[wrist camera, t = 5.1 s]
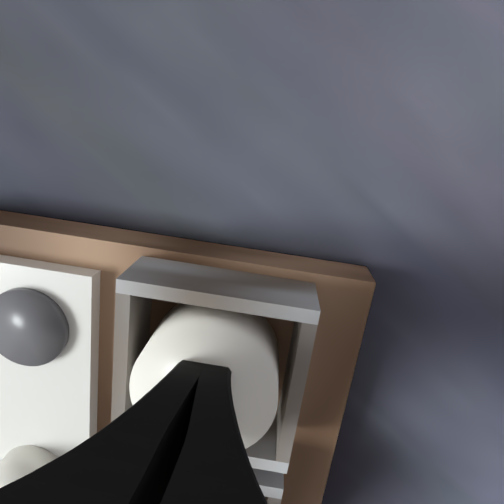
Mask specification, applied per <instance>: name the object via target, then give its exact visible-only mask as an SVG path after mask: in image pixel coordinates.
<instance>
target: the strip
mask: <svg viewBox="0 0 504 504" xmlns="http://www.w3.org/2000/svg"><path fill="white" fill-rule="evenodd" d="M100 272H101V270H95V269H89V268H82V267H76V266H70V265H63V264H57V263H51V262H44V261H38V260H32V259H25V258H19V257H13V256H6V255H0V488H1V487H3V486H5V485H7V484H9V483H11V482H13V481H15V480H18V479H20V478H22V477H24V476H25V475H27V474H29V473H31V472H33V471H35V470H36V469H38V468H40V467H42V466H44V465H45V464H47V463H49V462H51V461H53V460H54V459H56V458H58V457H60V456H61V455H63V454H65V453H67V452H68V451H70V450H71V449H73V448H75V447H76V446H78V445H79V444H81V443H82V442H84V441H85V440H87V439H88V438H90V437H91V436H93V435H94V434H96V433H97V404H98V360H99V316H100Z"/></svg>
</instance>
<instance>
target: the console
mask: <svg viewBox="0 0 504 504" xmlns="http://www.w3.org/2000/svg"><path fill="white" fill-rule="evenodd" d="M0 255H6V256H13V257H19V258H25V259H32V260H38V261H44V262H51V263H57V264H63V265H70V266H76V267H82V268H89V269H95V270H101V272H100V316H99V360H98V404H97V432H99V431H100V430H101V429H103V428H104V427H106V426H107V425H108V424H110V423H111V422H112V421H113V420H115V419H116V418H117V417H119V416H120V415H121V414H122V413H124V412H125V411H126V410H127V409H129V408H130V407H131V406H133V405H132V402H131V398H130V391H129V383H130V375H131V372H132V369H133V366H134V364H135V362H136V360H137V358H138V357H139V355H140V354H141V352H142V351H143V349H144V347H145V346H146V344H147V343H148V341H149V340H150V338H151V336H152V335H153V333H154V332H155V330H156V329H157V327H158V326H159V324H160V322H161V321H162V319H163V318H164V316H165V315H166V314H167V313H168V312H169V311H170V310H171V309H172V308H173V307H175V306H176V305H177V304H179V303H183V304H189V305H195V306H201V307H208V308H214V309H220V310H226V311H233V312H239V313H245V314H252V315H258V316H264V317H265V318H266V319H267V321H268V322H269V324H270V325H271V327H272V329H273V331H274V333H275V335H276V338H277V341H278V346H279V384H278V406H277V411H276V415H275V418H274V420H273V422H272V425H271V426H270V428H269V429H268V431H267V432H266V433H265V434H264V435H263V437H262V438H261V439H259V440H258V441H257V442H256V443H255V444H253V445H251V446H250V447H248V448H246V449H245V450H246V453H247V455H248V458H249V461H250V464H251V466H252V469H253V471H254V474H255V476H256V479H257V481H258V484H259V486H260V488H261V490H262V492H263V495H264V497H265V499H266V501H267V503H268V504H321V503H322V499H323V494H324V490H325V486H326V482H327V478H328V474H329V470H330V466H331V462H332V458H333V454H334V450H335V446H336V442H337V438H338V434H339V430H340V426H341V422H342V418H343V414H344V410H345V406H346V402H347V398H348V394H349V390H350V386H351V382H352V378H353V374H354V370H355V366H356V362H357V358H358V354H359V350H360V346H361V342H362V338H363V334H364V330H365V326H366V322H367V318H368V314H369V310H370V306H371V301H372V297H373V293H374V289H375V285H376V282H375V280H374V278H373V277H372V275H371V273H370V272H369V270H368V268H367V267H366V266H360V265H353V264H347V263H340V262H334V261H327V260H321V259H314V258H308V257H301V256H295V255H288V254H282V253H275V252H269V251H262V250H256V249H249V248H243V247H236V246H230V245H223V244H217V243H210V242H204V241H197V240H191V239H184V238H178V237H171V236H165V235H158V234H152V233H145V232H139V231H132V230H126V229H119V228H113V227H106V226H100V225H93V224H87V223H80V222H74V221H67V220H61V219H54V218H48V217H41V216H35V215H28V214H22V213H15V212H9V211H2V210H0Z"/></svg>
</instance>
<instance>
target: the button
mask: <svg viewBox="0 0 504 504" xmlns="http://www.w3.org/2000/svg"><path fill="white" fill-rule="evenodd" d="M182 360H187V361H193V362H199V363H205V364H212V365H218V366H224V367H229V369H230V370H231V371H232V374H231V390H232V398H233V404H234V409H235V413H236V418H237V422H238V426H239V430H240V433H241V437H242V440H243V443H244V446H245V449H246V448H248V447H250V446H251V445H253V444H255V443H256V442H257V441H258V440H259V439H261V438H262V437H263V435H264V434H265V433H266V432H267V431H268V429H269V428H270V426H271V425H272V422H273V420H274V418H275V415H276V411H277V406H278V384H279V346H278V341H277V338H276V335H275V333H274V331H273V329H272V327H271V325H270V324H269V322H268V321H267V319H266V318H265V317H264V316H258V315H252V314H245V313H239V312H233V311H226V310H220V309H214V308H208V307H201V306H195V305H189V304H183V303H179V304H177V305H176V306H175V307H173V308H172V309H171V310H170V311H169V312H168V313H167V314H166V315H165V316H164V318H163V319H162V321H161V322H160V324H159V326H158V327H157V329H156V330H155V332H154V333H153V335H152V336H151V338H150V340H149V341H148V343H147V344H146V346H145V347H144V349H143V351H142V352H141V354H140V355H139V357H138V358H137V360H136V362H135V364H134V366H133V369H132V372H131V375H130V383H129V391H130V398H131V402H132V405H134V404H135V403H136V402H137V401H138V400H140V399H141V398H142V397H143V396H144V395H145V394H146V393H147V392H149V391H150V390H151V389H152V388H153V387H154V386H155V385H156V384H157V383H159V382H160V381H161V380H162V379H163V378H164V377H165V376H166V375H167V374H168V373H169V372H170V371H171V370H172V369H173V368H174V367H175V366H176V365H177V364H178V363H179V362H180V361H182Z"/></svg>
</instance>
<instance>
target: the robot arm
mask: <svg viewBox="0 0 504 504" xmlns="http://www.w3.org/2000/svg"><path fill="white" fill-rule="evenodd" d="M231 374H232V371H231V370H230V369H229V367H224V366H218V365H212V364H205V363H199V362H193V361H187V360H182V361H180V362H179V363H178V364H177V365H176V366H175V367H174V368H173V369H172V370H171V371H170V372H169V373H168V374H167V375H166V376H165V377H164V378H163V379H162V380H161V381H160V382H159V383H157V384H156V385H155V386H154V387H153V388H152V389H151V390H150V391H149V392H147V393H146V394H145V395H144V396H143V397H142V398H141V399H140V400H138V401H137V402H136V403H135V404H134V405H133V406H131V407H130V408H129V409H127V410H126V411H125V412H124V413H122V414H121V415H120V416H119V417H117V418H116V419H115V420H113V421H112V422H111V423H110V424H108V425H107V426H106V427H104V428H103V429H101V430H100V431H99V432H97V433H96V434H94V435H93V436H91V437H90V438H88V439H87V440H85V441H84V442H82V443H81V444H79V445H78V446H76V447H75V448H73V449H71V450H70V451H68V452H67V453H65V454H63V455H61V456H60V457H58V458H56V459H54V460H53V461H51V462H49V463H47V464H45V465H44V466H42V467H40V468H38V469H36V470H35V471H33V472H31V473H29V474H27V475H25V476H24V477H22V478H20V479H18V480H15V481H13V482H11V483H9V484H7V485H5V486H3V487H1V488H0V504H268V503H267V501H266V499H265V497H264V495H263V492H262V490H261V488H260V486H259V484H258V481H257V479H256V476H255V474H254V471H253V469H252V466H251V464H250V461H249V458H248V455H247V453H246V450H245V446H244V443H243V440H242V437H241V433H240V430H239V426H238V422H237V418H236V413H235V409H234V404H233V398H232V390H231Z"/></svg>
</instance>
